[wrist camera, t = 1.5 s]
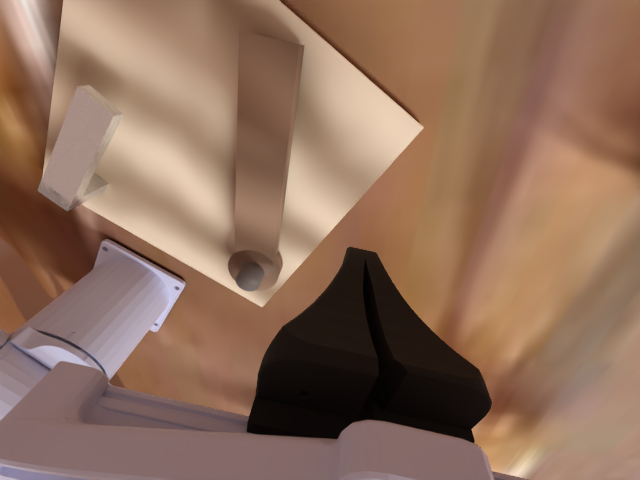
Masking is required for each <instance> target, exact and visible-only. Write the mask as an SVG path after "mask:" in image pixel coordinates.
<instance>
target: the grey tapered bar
mask: <svg viewBox="0 0 640 480" xmlns="http://www.w3.org/2000/svg"><path fill="white" fill-rule="evenodd" d="M304 46H305V45H301V44H296V43H292V42H287V41H283V40H278V39H274V38H269V37H265V36H260V35H256V34H252V33H247V32H243V31H239V55H238V103H237V152H236V200H235V248H234V253H233V254H232V256H231V257H230V259H229V261H228V270H229V273H230V275H231V277H232V278H233V279H234V280H235V281H236V284H237V285H238V287H240V288H241V289H242V290H245V291H249V292H251V291H255V290H256V291H262V290H267V289H269V288H271V287H272V286H274V285H275V283H276V282H277V280H278V277H279V274H280V272H281V269H282V266H283V260H282V257H281V254H280V253H279V251H278V250H279V242H280V234H281V226H282V218H283V210H284V203H285V195H286V187H287V179H288V171H289V163H290V156H291V148H292V140H293V132H294V124H295V117H296V109H297V101H298V93H299V85H300V77H301V70H302V62H303V54H304Z"/></svg>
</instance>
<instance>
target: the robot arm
mask: <svg viewBox="0 0 640 480" xmlns="http://www.w3.org/2000/svg"><path fill="white" fill-rule="evenodd" d="M184 287H185V282H184V281H183V280H182V279H180V278H178V277H176V276H175V275H173V274H171V273H169V272H167V271H166V270H164V269H162V268H160V267H158V266H157V265H155V264H153V263H151V262H149V261H148V260H146V259H144V258H142V257H140V256H138V255H137V254H135V253H133V252H131V251H129V250H128V249H126V248H124V247H122V246H120V245H119V244H117V243H115V242H113V241H111V240H109V239H104V240H103V241H102V242H101V245H100V248H99V251H98V255H97V258H96V261H95V265H94V268H93V270H92V271H91V272H89V273H88V274H87V275H85V276H84V277H83V278H82V279H80V280H79V281H78V282H77V283H75V284H74V285H73V286H72V287H70V288H69V289H68V290H66V291H65V292H64V293H63V294H61V295H60V296H59V297H58V298H56V299H55V300H54V301H53V302H51V303H50V304H49V305H47V306H46V307H45V308H44V309H42V310H41V311H40V312H39V313H37V314H36V315H35V316H34V317H33V318H31V319H30V320H29V321H27V322H26V323H25V324H23V325H22V326H21V327H20V328H18V329H17V330H16V331H15V332H12V333H10V334H8V333H7V332H5V331H4V330H0V480H529V479H524V478H520V477H515V476H511V475H506V474H502V473H498V472H493V471H492V470H491V467H490V464H489V461H488V458H487V455H486V454H485V453H484V451H483V450H482V449H481V447H479V446H478V445H476V444H474V437H473V434H472V430H471V429H472V428H473V427H474V426H475V425H476V424H477V423H478V422H479V421H481V420H482V419H483V418H484V417H485V416H486V414H487V413H488V412H489V410H490V409H491V404H492V401H491V399H490V396H489V393H488V390H487V387H486V384H485V382H484V380H483V377H482V375H481V373H480V371H479V369H478V368H476V367H475V366H474V365H472V364H471V363H470V362H468V361H467V360H466V359H464V358H463V357H462V356H460V355H459V354H458V353H456V352H455V351H454V350H453V349H452V348H451V347H449V346H448V345H447V344H446V343H445V342H444V341H442V340H441V339H440V338H439V337H438V336H437V335H436V334H435V333H434V332H433V331H432V330H431V329H430V328H429V327H428V326H427V325H426V324H425V323H424V322H423V321H422V320H421V319H420V318H419V317H418V316H417V315H416V313H415V312H414V311H413V310H412V309H411V307H410V306H409V305H408V304H407V302H406V301H405V300H404V298H403V297H402V296H401V294H400V293H399V291H398V290H397V288H396V287H395V285H394V284H393V282H392V280H391V279H390V277H389V275H388V274H387V272H386V270H385V268H384V266H383V264H382V263H381V261H380V259H379V257H378V255H377V253H375V252H371V251H367V250H362V249H358V248H353V247H349V248H347V250H346V254H345V257H344V261H343V264H342V266H341V268H340V270H339V272H338V273H337V275H336V276H335V278H334V279H333V281H332V282H331V283H330V285H329V286H328V287H327V289H326V290H325V291H324V292H323V293H322V294H321V295H320V296H319V297H318V299H317V300H316V301H315V302H314V303H313V304H312V305H310V306H309V307H308V308H307V309H306V310H305V311H303V312H302V313H301V314H300V315H298V316H297V317H296V318H294V319H293V320H291V321H290V322H288V323H287V324H285V325H284V326H283V327H282V328H281V330H280V331H279V332H278V334H277V335H276V336H275V338H274V339H273V341H272V342H271V344H270V346H269V347H268V349H267V351H266V353H265V355H264V357H263V360H262V363H261V366H260V370H259V373H258V380H257V389H256V396H255V400H254V403H253V406H252V409H251V412H250V416H245V415H240V414H236V413H231V412H227V411H223V410H218V409H214V408H209V407H205V406H200V405H196V404H192V403H187V402H183V401H178V400H174V399H169V398H165V397H160V396H156V395H152V394H147V393H143V392H138V391H134V390H129V389H125V388H120V387H116V386H112V385H111V384H110V383H109V380H110V379H111V378H112V377H113V375H114V374H115V373H116V371H117V370H118V369H119V368H120V366H121V365H122V364H123V362H124V361H125V360H126V359H127V357H128V356H129V355H130V353H131V352H132V351H133V350H134V348H135V347H136V346H137V344H138V343H139V342H140V341H141V339H142V338H143V337H144V335H145V334H146V333H147V332H148V330H151V331H153V332H157V331H158V330H159V328H160V327H161V325H162V323H163V322H164V320H165V318H166V317H167V315H168V313H169V312H170V310H171V308H172V307H173V305H174V303H175V302H176V300H177V298H178V297H179V295H180V293H181V292H182V290H183V288H184Z"/></svg>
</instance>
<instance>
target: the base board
mask: <svg viewBox="0 0 640 480" xmlns="http://www.w3.org/2000/svg"><path fill="white" fill-rule="evenodd" d="M239 31H243V32H247V33H252V34H256V35H260V36H265V37H269V38H274V39H278V40H283V41H287V42H292V43H296V44H301V45H305V46H304V54H303V62H302V70H301V77H300V85H299V93H298V101H297V109H296V117H295V124H294V132H293V140H292V148H291V156H290V163H289V171H288V179H287V187H286V195H285V203H284V210H283V218H282V226H281V234H280V242H279V250H278V251H279V253H280V254H281V257H282V260H283V266H282V269H281V272H280V274H279V277H278V280H277V282H276V283H275V285H274V286H272V287H271V288H269V289H267V290H262V291H256V290H255V291H251V292H249V291H245V290H242V289H241V288H240V287H238V285H237V284H236V281H235V280H234V279H233V278H232V277H231V275H230V273H229V270H228V261H229V259H230V257H231V256H232V254H233V253H234V248H235V200H236V152H237V103H238V55H239ZM86 85H90V86H91V87H93V88H94V89H95V90H96V91H97V92H99V93H100V94H101V95H102V96H103V97H104V98H106V99H107V100H108V101H109V102H110V103H112V104H113V105H114V106H115V107H116V108H118V109H119V110H120V111H121V112H122V113H123V114H124V115H123V117H122V119H121V121H120V123H119V125H118V127H117V129H116V131H115V133H114V135H113V137H112V139H111V141H110V143H109V145H108V147H107V149H106V151H105V152H104V154H103V156H102V158H101V160H100V162H99V164H98V166H97V168H96V170H95V172H94V173H95V174H97V175H98V176H99V177H101V178H102V179H103V180H105V181H106V182H107V183H109V185H108V187H107V188H106V190H105V192H104V193H102V194H100V195H98V196H96V197H94V198H92V199H90V200H88V201H86V202H85V203H83V204H82V205H84V206H85V207H87V208H89V209H91V210H92V211H94V212H96V213H98V214H99V215H101V216H103V217H105V218H106V219H108V220H110V221H112V222H113V223H115V224H117V225H119V226H120V227H122V228H124V229H126V230H127V231H129V232H131V233H133V234H134V235H136V236H138V237H140V238H141V239H143V240H145V241H147V242H148V243H150V244H152V245H154V246H156V247H157V248H159V249H161V250H163V251H164V252H166V253H168V254H170V255H171V256H173V257H175V258H177V259H178V260H180V261H182V262H184V263H185V264H187V265H189V266H191V267H192V268H194V269H196V270H198V271H199V272H201V273H203V274H205V275H206V276H208V277H210V278H212V279H213V280H215V281H217V282H219V283H220V284H222V285H224V286H226V287H227V288H229V289H231V290H233V291H234V292H236V293H238V294H240V295H242V296H243V297H245V298H247V299H249V300H250V301H252V302H254V303H256V304H257V305H259V306H261V307H263V306H264V305H265V303H266V302H267V301H268V300H269V299H270V298H271V297H272V296H273V295H274V293H275V292H276V291H277V290H278V289H279V288H280V287H281V286H282V285H283V283H284V282H285V281H286V280H287V279H288V278H289V277H290V276H291V275H292V273H293V272H294V271H295V270H296V269H297V268H298V267H299V266H300V265H301V263H302V262H303V261H304V260H305V259H306V258H307V257H308V256H309V255H310V253H311V252H312V251H313V250H314V249H315V248H316V247H317V246H318V245H319V244H320V242H321V241H322V240H323V239H324V238H325V237H326V236H327V235H328V234H329V232H330V231H331V230H332V229H333V228H334V227H335V226H336V225H337V224H338V222H339V221H340V220H341V219H342V218H343V217H344V216H345V215H346V214H347V212H348V211H349V210H350V209H351V208H352V207H353V206H354V205H355V204H356V202H357V201H358V200H359V199H360V198H361V197H362V196H363V195H364V194H365V192H366V191H367V190H368V189H369V188H370V187H371V186H372V185H373V184H374V182H375V181H376V180H377V179H378V178H379V177H380V176H381V175H382V174H383V172H384V171H385V170H386V169H387V168H388V167H389V166H390V165H391V164H392V162H393V161H394V160H395V159H396V158H397V157H398V156H399V155H400V154H401V152H402V151H403V150H404V149H405V148H406V147H407V146H408V145H409V144H410V142H411V141H412V140H413V139H414V138H415V137H416V136H417V135H418V134H419V132H420V131H421V130H422V129H423V128H424V127H423V126H422V125H421V124H420V123H419V122H417V121H416V120H415V119H414V118H413V117H412V116H411V115H409V114H408V113H407V112H406V111H405V110H404V109H403V108H402V107H400V106H399V105H398V104H397V103H396V102H395V101H394V100H392V99H391V98H390V97H389V96H388V95H387V94H386V93H384V92H383V91H382V90H381V89H380V88H379V87H378V86H376V85H375V84H374V83H373V82H372V81H371V80H370V79H369V78H367V77H366V76H365V75H364V74H363V73H362V72H361V71H359V70H358V69H357V68H356V67H355V66H354V65H353V64H351V63H350V62H349V61H348V60H347V59H346V58H345V57H343V56H342V55H341V54H340V53H339V52H338V51H337V50H336V49H334V48H333V47H332V46H331V45H330V44H329V43H328V42H326V41H325V40H324V39H323V38H322V37H321V36H320V35H318V34H317V33H316V32H315V31H314V30H313V29H312V28H310V27H309V26H308V25H307V24H306V23H305V22H304V21H303V20H301V19H300V18H299V17H298V16H297V15H296V14H295V13H293V12H292V11H291V10H290V9H289V8H288V7H287V6H285V5H284V4H283V3H282V2H281V1H280V0H63V9H62V17H61V26H60V34H59V42H58V51H57V59H56V68H55V76H54V84H53V93H52V101H51V109H50V118H49V126H48V135H47V143H46V151H45V160H44V168H43V175H44V172H45V170H46V167H47V164H48V162H49V159H50V156H51V154H52V151H53V149H54V146H55V143H56V141H57V138H58V136H59V133H60V130H61V128H62V125H63V123H64V120H65V117H66V115H67V112H68V110H69V107H70V104H71V102H72V99H73V97H74V94H75V91H76V89H77V86H86Z"/></svg>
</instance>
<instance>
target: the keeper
mask: <svg viewBox="0 0 640 480" xmlns="http://www.w3.org/2000/svg"><path fill="white" fill-rule="evenodd" d="M123 115H124V114H123V113H122V112H121V111H120V110H119V109H118V108H116V107H115V106H114V105H113V104H112V103H110V102H109V101H108V100H107V99H106V98H104V97H103V96H102V95H101V94H100V93H99V92H97V91H96V90H95V89H94V88H93V87H91V86H90V85H86V86H77V89H76V91H75V94H74V97H73V99H72V102H71V104H70V107H69V110H68V112H67V115H66V117H65V120H64V123H63V125H62V128H61V130H60V133H59V136H58V138H57V141H56V143H55V146H54V149H53V151H52V154H51V156H50V159H49V162H48V164H47V167H46V170H45V172H44V175H43V177H42V180H41V183H40V185H39V188H38V190H37V191H38V192H40V193H41V194H42V195H44V196H45V197H47V198H48V199H50V200H51V201H53V202H54V203H56V204H57V205H59V206H60V207H62V208H63V209H65V210H66V211H69V210H71V209H73V208H75V207H77V206H79V205H81V204H83V203H85V202H86V201H88V200H90V199H92V198H94V197H96V196H98V195H100V194H102V193H104V192H105V190H106V188H107V187H108V185H109V183H107V182H106V181H105V180H103V179H102V178H101V177H99V176H98V175H97V174H95V173H94V172H95V170H96V168H97V166H98V164H99V162H100V160H101V158H102V156H103V154H104V152H105V151H106V149H107V147H108V145H109V143H110V141H111V139H112V137H113V135H114V133H115V131H116V129H117V127H118V125H119V123H120V121H121V119H122V117H123Z"/></svg>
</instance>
